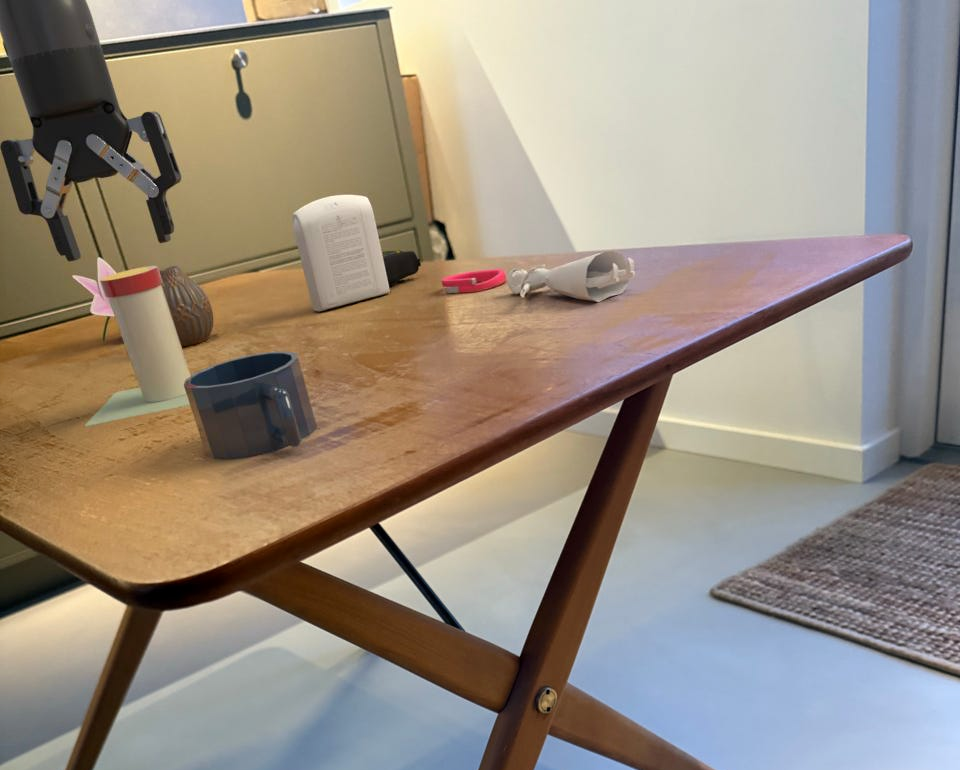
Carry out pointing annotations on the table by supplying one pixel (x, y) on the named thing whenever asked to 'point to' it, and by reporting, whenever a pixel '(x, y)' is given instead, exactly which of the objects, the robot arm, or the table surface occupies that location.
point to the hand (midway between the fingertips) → (119, 250)
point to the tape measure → (400, 265)
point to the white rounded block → (340, 251)
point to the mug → (251, 405)
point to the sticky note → (132, 406)
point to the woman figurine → (578, 277)
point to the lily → (99, 292)
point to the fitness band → (473, 280)
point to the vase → (187, 306)
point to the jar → (148, 332)
